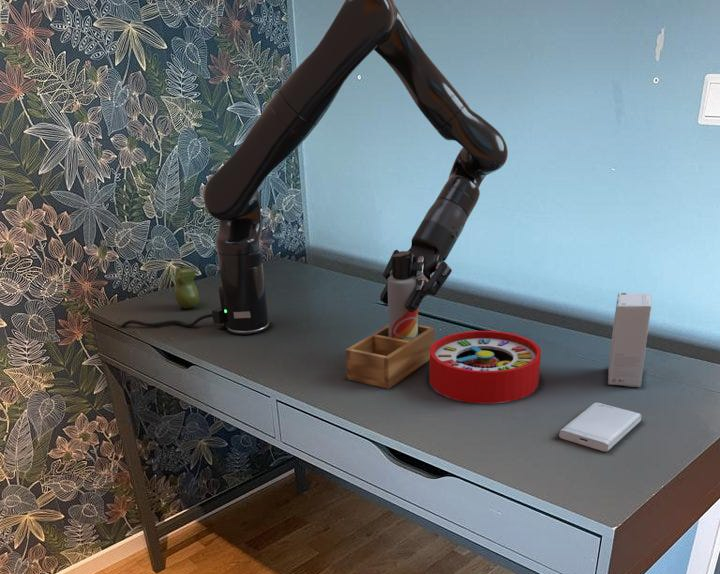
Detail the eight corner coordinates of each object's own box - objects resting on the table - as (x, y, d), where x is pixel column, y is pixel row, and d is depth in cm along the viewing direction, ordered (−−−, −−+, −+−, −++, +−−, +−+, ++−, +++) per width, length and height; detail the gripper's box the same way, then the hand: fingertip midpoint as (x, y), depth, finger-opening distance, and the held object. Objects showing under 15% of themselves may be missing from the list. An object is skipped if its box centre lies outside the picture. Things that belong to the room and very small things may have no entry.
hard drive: (594, 401, 130) (559, 428, 122) (642, 413, 125) (608, 443, 117) (593, 410, 131) (558, 438, 123) (640, 423, 126) (607, 452, 118)
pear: (192, 302, 189) (186, 261, 184) (205, 307, 186) (199, 265, 180) (173, 308, 185) (166, 267, 180) (186, 313, 182) (179, 271, 177)
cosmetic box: (640, 388, 137) (653, 307, 129) (605, 385, 139) (616, 305, 131) (641, 369, 144) (653, 291, 136) (607, 367, 146) (617, 290, 138)
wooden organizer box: (347, 379, 146) (345, 349, 143) (395, 348, 158) (394, 320, 155) (388, 389, 141) (388, 358, 138) (434, 356, 154) (435, 327, 150)
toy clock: (564, 358, 135) (464, 381, 129) (560, 389, 138) (463, 412, 132) (502, 323, 151) (410, 342, 145) (500, 352, 154) (411, 371, 148)
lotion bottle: (415, 360, 149) (415, 256, 139) (386, 359, 150) (384, 256, 140) (419, 349, 154) (419, 248, 144) (391, 348, 155) (389, 247, 145)
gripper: (403, 212, 148) (359, 288, 148) (459, 224, 139) (413, 304, 138) (422, 235, 154) (380, 307, 153) (477, 247, 144) (433, 324, 144)
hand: (396, 305), depth 146 cm, fingers open, 6 cm apart
